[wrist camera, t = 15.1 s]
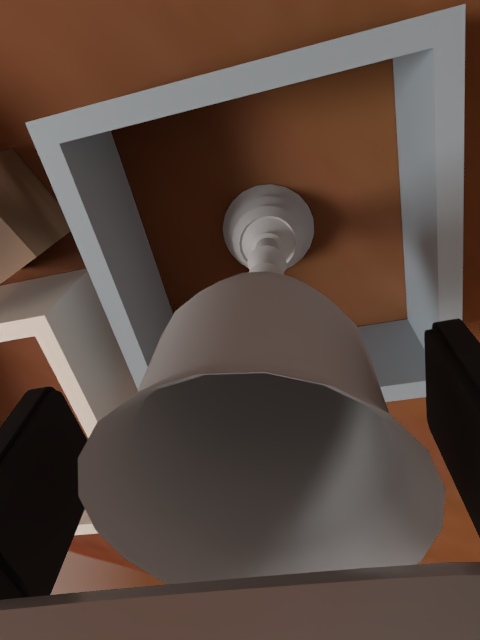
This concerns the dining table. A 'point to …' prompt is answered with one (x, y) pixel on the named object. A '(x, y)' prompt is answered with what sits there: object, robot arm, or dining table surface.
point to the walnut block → (25, 215)
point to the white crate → (71, 344)
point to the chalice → (260, 430)
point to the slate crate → (253, 77)
